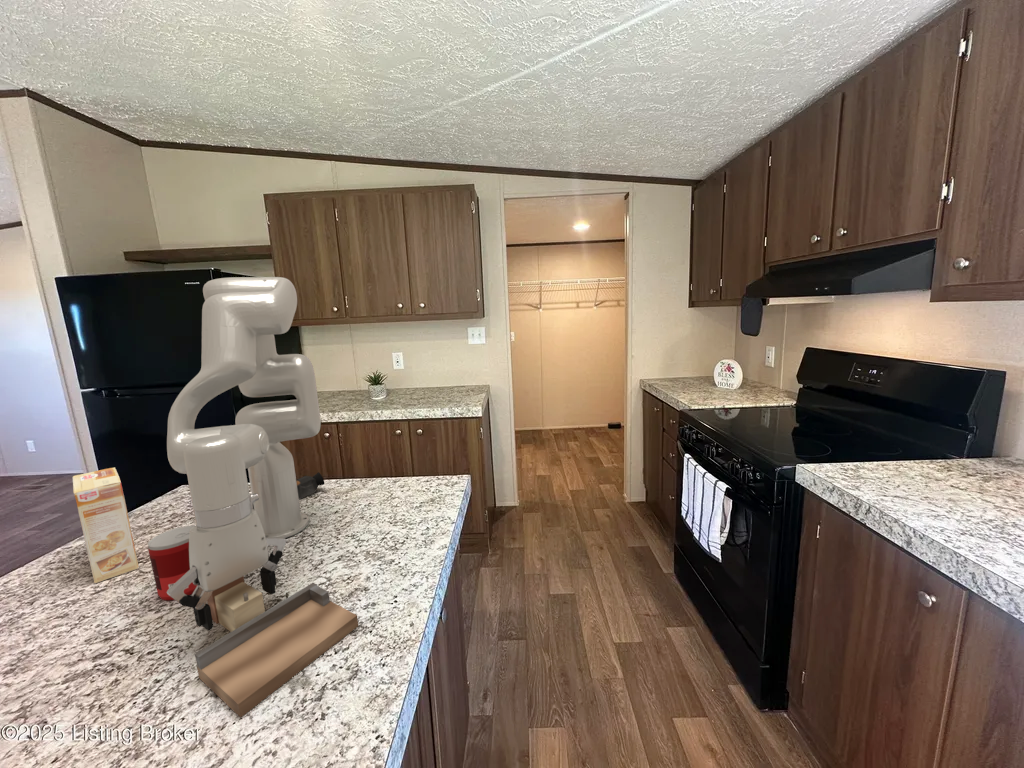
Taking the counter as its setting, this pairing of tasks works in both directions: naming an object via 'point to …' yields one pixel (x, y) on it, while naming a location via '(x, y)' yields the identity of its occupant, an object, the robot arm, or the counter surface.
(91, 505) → the coffeecake box
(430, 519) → the counter surface
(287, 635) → the board
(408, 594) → the counter surface
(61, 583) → the counter surface
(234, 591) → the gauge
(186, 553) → the canned food
